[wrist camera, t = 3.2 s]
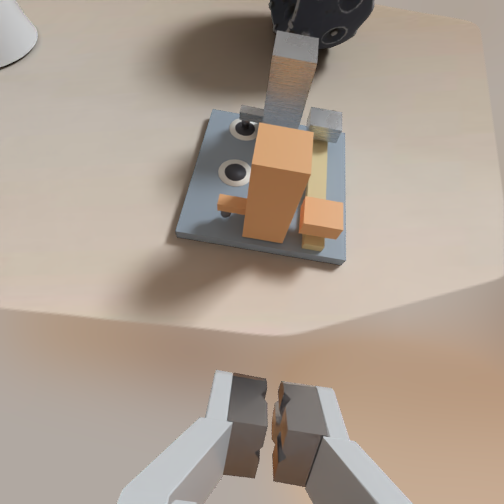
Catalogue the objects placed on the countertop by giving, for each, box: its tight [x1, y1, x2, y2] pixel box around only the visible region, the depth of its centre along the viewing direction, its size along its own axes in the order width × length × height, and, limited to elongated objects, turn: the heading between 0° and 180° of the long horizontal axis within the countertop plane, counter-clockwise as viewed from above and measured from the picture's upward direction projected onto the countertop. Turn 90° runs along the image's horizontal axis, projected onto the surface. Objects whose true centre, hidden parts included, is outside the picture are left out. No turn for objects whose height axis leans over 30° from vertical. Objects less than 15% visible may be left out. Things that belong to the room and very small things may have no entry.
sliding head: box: [217, 122, 343, 243], centre depth 24 cm, size 12×4×10 cm, turn 82°
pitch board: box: [175, 109, 346, 265], centre depth 32 cm, size 17×18×2 cm
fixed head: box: [239, 30, 342, 143], centre depth 30 cm, size 12×4×10 cm, turn 82°
